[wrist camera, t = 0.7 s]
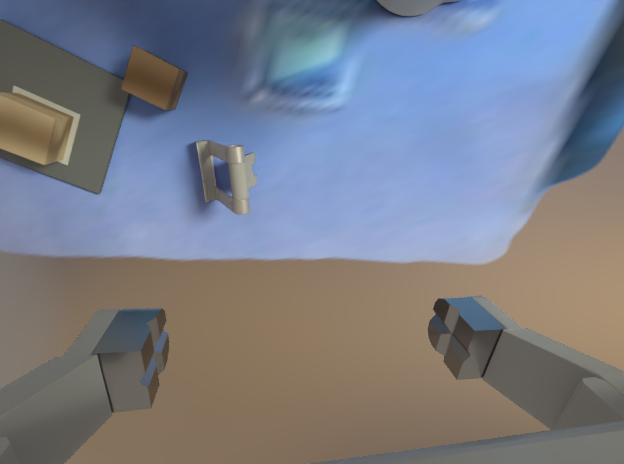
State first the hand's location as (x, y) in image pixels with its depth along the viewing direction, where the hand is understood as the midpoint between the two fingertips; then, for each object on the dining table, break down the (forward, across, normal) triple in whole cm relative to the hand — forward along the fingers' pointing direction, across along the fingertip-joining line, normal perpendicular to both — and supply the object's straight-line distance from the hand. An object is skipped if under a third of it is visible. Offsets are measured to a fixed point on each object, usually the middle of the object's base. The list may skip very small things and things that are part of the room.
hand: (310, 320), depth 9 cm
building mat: (+40, +27, -2) cm, 48 cm away
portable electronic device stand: (+40, +6, +4) cm, 40 cm away
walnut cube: (+40, +14, -7) cm, 43 cm away
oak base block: (+39, +29, 0) cm, 48 cm away
